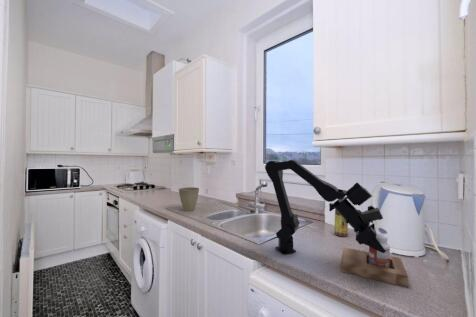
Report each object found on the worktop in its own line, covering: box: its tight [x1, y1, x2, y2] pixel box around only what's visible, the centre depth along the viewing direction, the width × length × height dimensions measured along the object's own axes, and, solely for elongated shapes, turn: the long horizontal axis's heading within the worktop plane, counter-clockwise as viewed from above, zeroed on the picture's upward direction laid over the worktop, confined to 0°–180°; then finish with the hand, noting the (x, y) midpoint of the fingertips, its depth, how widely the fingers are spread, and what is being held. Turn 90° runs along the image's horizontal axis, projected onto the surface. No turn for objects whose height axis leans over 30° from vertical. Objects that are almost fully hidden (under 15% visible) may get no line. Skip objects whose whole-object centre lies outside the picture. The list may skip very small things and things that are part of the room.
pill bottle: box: [368, 233, 391, 268], centre depth 78 cm, size 6×6×11 cm
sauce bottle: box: [333, 196, 349, 237], centre depth 114 cm, size 7×6×20 cm
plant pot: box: [178, 186, 200, 212], centre depth 164 cm, size 15×15×16 cm
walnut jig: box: [340, 246, 409, 288], centre depth 79 cm, size 19×14×4 cm
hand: (383, 248), depth 77 cm, fingers closed on pill bottle, 6 cm apart
